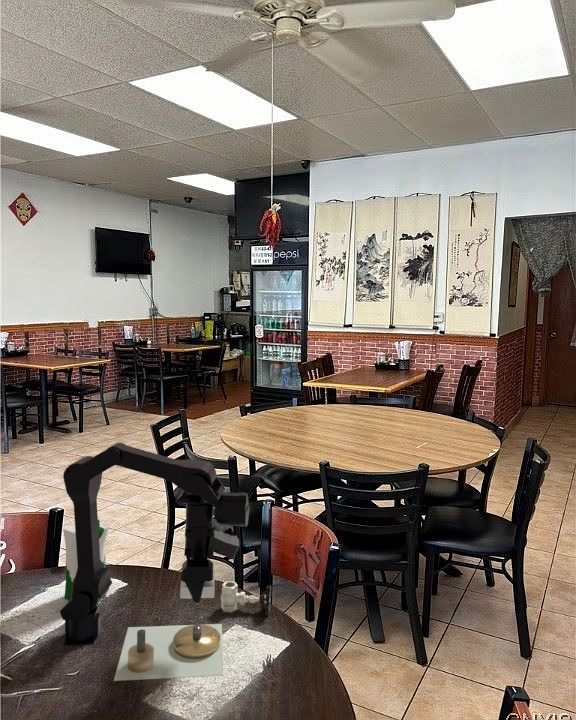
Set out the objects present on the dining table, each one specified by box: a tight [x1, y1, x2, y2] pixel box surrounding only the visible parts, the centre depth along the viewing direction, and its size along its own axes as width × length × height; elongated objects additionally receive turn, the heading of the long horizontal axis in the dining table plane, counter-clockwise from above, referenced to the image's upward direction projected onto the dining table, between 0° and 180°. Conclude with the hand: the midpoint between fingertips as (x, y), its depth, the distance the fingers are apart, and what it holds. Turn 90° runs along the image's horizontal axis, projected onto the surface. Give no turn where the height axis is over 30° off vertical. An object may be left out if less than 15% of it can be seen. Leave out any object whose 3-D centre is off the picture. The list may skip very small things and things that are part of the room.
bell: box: [173, 624, 220, 659], centre depth 119 cm, size 10×10×4 cm
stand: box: [128, 630, 154, 673], centre depth 112 cm, size 5×5×7 cm
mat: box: [113, 623, 224, 682], centre depth 117 cm, size 21×18×1 cm
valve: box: [220, 580, 272, 616], centre depth 134 cm, size 7×7×12 cm
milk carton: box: [62, 519, 109, 602], centre depth 136 cm, size 9×9×20 cm
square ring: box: [179, 570, 216, 600], centre depth 118 cm, size 7×7×2 cm
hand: (197, 593), depth 118 cm, fingers closed on square ring, 7 cm apart
